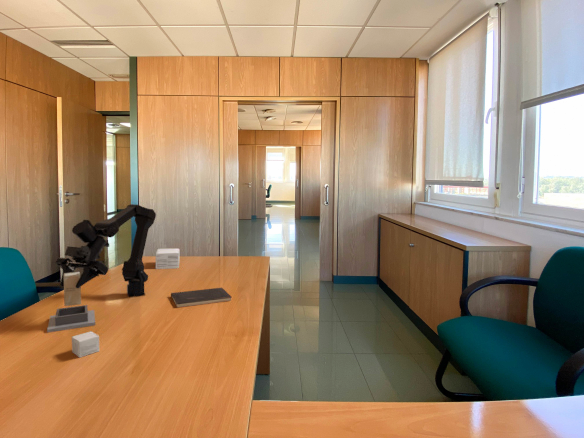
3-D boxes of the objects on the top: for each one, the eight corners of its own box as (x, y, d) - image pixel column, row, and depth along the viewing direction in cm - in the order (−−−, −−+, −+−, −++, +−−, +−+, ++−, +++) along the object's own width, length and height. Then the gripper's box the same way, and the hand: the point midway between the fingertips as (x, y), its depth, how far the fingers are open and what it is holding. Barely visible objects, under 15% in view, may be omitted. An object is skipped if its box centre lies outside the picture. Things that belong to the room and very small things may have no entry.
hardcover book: (231, 302, 156) (231, 296, 156) (176, 309, 146) (176, 303, 146) (221, 291, 170) (221, 287, 170) (170, 297, 160) (170, 292, 160)
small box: (91, 345, 111) (91, 330, 111) (100, 351, 107) (99, 335, 107) (71, 352, 107) (70, 336, 106) (79, 358, 103) (78, 341, 103)
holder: (94, 312, 139) (93, 302, 138) (95, 325, 127) (94, 314, 126) (50, 318, 132) (50, 307, 131) (47, 332, 120) (46, 320, 119)
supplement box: (179, 268, 213) (179, 252, 212) (155, 269, 209) (155, 253, 209) (179, 262, 229) (179, 247, 228) (157, 263, 226) (157, 248, 225)
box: (64, 306, 125) (63, 275, 124) (64, 303, 129) (62, 272, 128) (82, 304, 128) (80, 273, 127) (81, 300, 132) (79, 271, 131)
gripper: (58, 235, 132) (31, 272, 123) (100, 238, 128) (76, 277, 118) (76, 252, 141) (53, 288, 131) (117, 256, 136) (96, 293, 127)
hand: (69, 286), depth 127 cm, fingers closed on box, 6 cm apart
